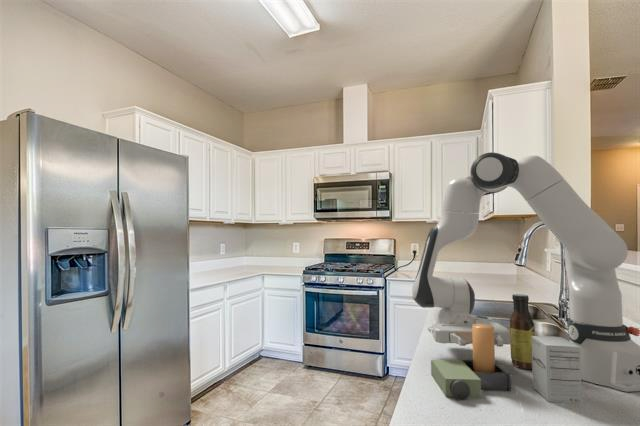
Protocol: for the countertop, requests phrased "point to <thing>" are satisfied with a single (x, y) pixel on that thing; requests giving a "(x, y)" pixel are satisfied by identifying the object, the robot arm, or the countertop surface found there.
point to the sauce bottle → (521, 332)
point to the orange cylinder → (483, 348)
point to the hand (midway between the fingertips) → (481, 343)
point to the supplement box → (557, 369)
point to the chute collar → (493, 378)
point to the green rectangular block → (456, 379)
